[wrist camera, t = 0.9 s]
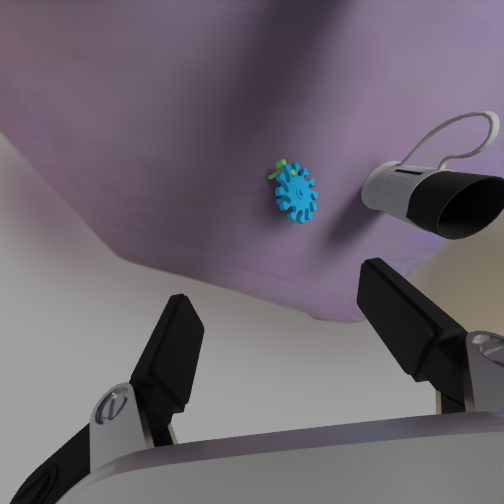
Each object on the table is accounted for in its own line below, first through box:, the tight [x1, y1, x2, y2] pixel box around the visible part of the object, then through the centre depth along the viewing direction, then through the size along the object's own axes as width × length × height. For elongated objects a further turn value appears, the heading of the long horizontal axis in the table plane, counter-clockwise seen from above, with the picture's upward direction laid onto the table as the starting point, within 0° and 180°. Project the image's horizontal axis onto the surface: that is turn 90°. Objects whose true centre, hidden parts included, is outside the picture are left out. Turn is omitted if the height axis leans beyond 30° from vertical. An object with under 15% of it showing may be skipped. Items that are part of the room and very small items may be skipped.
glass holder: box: [361, 111, 504, 240], centre depth 26 cm, size 9×14×15 cm, turn 8°
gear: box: [268, 158, 318, 224], centre depth 32 cm, size 11×6×10 cm
